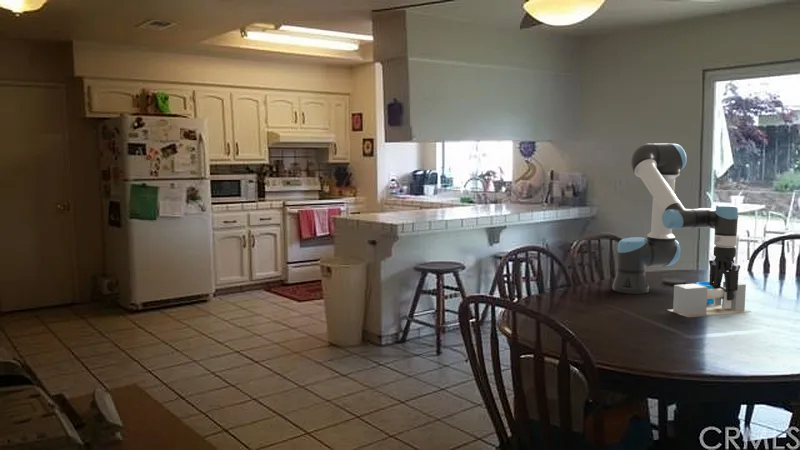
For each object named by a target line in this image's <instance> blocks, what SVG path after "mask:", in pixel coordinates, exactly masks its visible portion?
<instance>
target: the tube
mask: <svg viewBox="0 0 800 450" xmlns="http://www.w3.org/2000/svg"><path fill="white" fill-rule="evenodd" d="M724 290H726V287H723V286H721V287H719V288H718V289H707V299H713V298H720V299H721V300H722V299H724ZM732 297H734V291H733V296H732Z"/></svg>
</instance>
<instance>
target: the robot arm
mask: <svg viewBox="0 0 800 450" xmlns="http://www.w3.org/2000/svg"><path fill="white" fill-rule="evenodd" d="M685 151H686V150H685V149H684V148H683V146H682V145H680V144H677V143H645V144H642V145H640V146H638V147H636V148H635V149H634V151H633V152H632V154H631V158H630V167H631V170H632V172H633V173H634V175H635V176H636V177H637V178H640V179H641V181H642V182H643V184H644V185H645V187H646V188H647V190H648V192H649V193H650V195H651V196H652V206H651V207H652V208H651V209H652V210H651V225H650V227H651V228H650V232H649V233H648V234H646V238H645V237H641V236H635V237H634V236H633V237H626V238H622V239H621V240H619V241H618V243H617V244H618V245H617V249H616V250H617V268H616V274H615V278H614V281H613V283H612V290H613V291H614V292H617V293H620V294H621V293H622V294H628V295H629V294H632V295H633V294H635V295H641V294H646V293H649V290H650V286H649V283H648V280H647V276H646V267H666V266H672V265H674V264H675V263H677V262H678V260H679V258H680V256H681V246H680V243H679V241H678V240H677V239H676V236H675V234H673V230H678V229H679V230H681V229H683V230H684V229H714V238H713V239H714V242H713V244H714V246H713V256H715V257H714V259H711V260H709V261H708V263H709V281H708V282H709V284H710V286H713V288H714V289H718V288H719V287H722V286H721V285H722V281H723V276H724V282H725V286H726V290H724V309H728V308H731V300H732V296H733V291H737V290H738V283H739V273H740V269H741V265H740V264H736V263H735V260H734V259H735V257H737V248H736V246H737V244H738V243H737V241H738V240H737V239H738V237H737V234H738V219H739V214H738V212H739V209H738V207H737V206H736V205H733V204H731V205H730V204H718V205H715V209H714V208H710V207H699V208H685V207H684V205H683V204H682V202H681V201H680V200H679V198H678V197H677V195H676V193H675V189H676V179H677V178H678V177H679V176H680V173H681V171H682V170H683V169H684V168H685V166H686V165H687V153H686V152H685ZM718 305H722V299H720V298H714V303H713V306H718Z"/></svg>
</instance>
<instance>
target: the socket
mask: <svg viewBox="0 0 800 450" xmlns="http://www.w3.org/2000/svg"><path fill="white" fill-rule="evenodd" d="M722 283H723V284H722V287H726V286H725V281H723V282H722ZM746 287H747V285H746V284H745V283H741V282H738V290H737V291H734V297H732V300H731V308H728V309H730V310H733V311H745V310H746ZM721 305H722V307H724V299H721Z"/></svg>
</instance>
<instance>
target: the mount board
mask: <svg viewBox="0 0 800 450" xmlns="http://www.w3.org/2000/svg"><path fill="white" fill-rule="evenodd" d="M668 311H669V312H672V313H675V314H677V315H680V316H684V317H686V318H697V317H708V316H710V317H711V316H718V315H719V316H720V315H732V314H744V313H752V311H750V310H748V309H745V311H733V310H730V309H724V307H722V304H721V305H717V306H715V305H709V306H708V305H707V311H706V314H697V315H683V314H680V313H677V312H675V311H673V308H671V309H668Z"/></svg>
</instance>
